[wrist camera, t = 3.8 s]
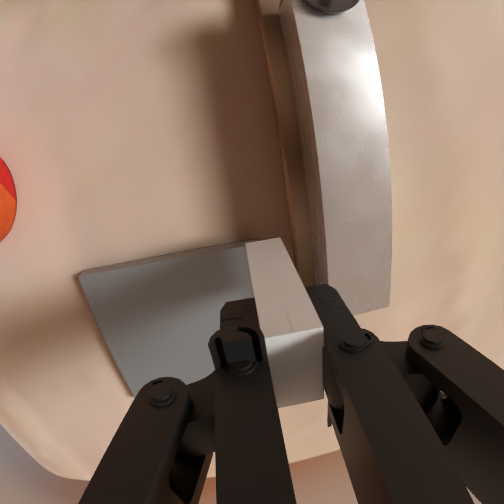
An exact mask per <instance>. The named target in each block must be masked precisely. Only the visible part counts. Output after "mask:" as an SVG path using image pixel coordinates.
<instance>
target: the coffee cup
mask: <svg viewBox="0 0 504 504" xmlns="http://www.w3.org/2000/svg"><path fill="white" fill-rule="evenodd" d="M16 208H17V197H16V189H15V184H14V181H13V177H12V175H11V172H10V170H9V168H8V167H7V165H6V164H5V162H4V161H3V160H2V159H1V158H0V241H2V240H3V239H4V238H5V237H6V235H7V234H8V233H9V232H10V230H11V228H12V226H13V223H14V220H15V216H16Z"/></svg>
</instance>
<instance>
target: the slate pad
mask: <svg viewBox="0 0 504 504" xmlns="http://www.w3.org/2000/svg"><path fill="white" fill-rule="evenodd" d="M255 241H258V240H257V239H251V240H246V241H240V242H234V243H229V244H223V245H217V246H212V247H206V248H201V249H195V250H190V251H184V252H179V253H173V254H168V255H162V256H157V257H151V258H146V259H141V260H135V261H130V262H125V263H119V264H114V265H109V266H103V267H98V268H93V269H88V270H83V271H82V272H81V273H80V275H79V276H78V278H79V281H80V283H81V286H82V289H83V291H84V294H85V296H86V299H87V301H88V304H89V306H90V308H91V311H92V313H93V315H94V318H95V320H96V322H97V324H98V327H99V329H100V331H101V333H102V335H103V338H104V340H105V342H106V344H107V346H108V348H109V350H110V352H111V354H112V356H113V358H114V360H115V362H116V364H117V366H118V368H119V370H120V372H121V374H122V376H123V378H124V380H125V381H126V383H127V385H128V387H129V389H130V390H131V392H132V394H133V396H134V398H135V397H136V395H137V394H138V392H139V391H140V389H141V388H142V387H143V386H144V385H145V384H147V383H148V382H150V381H151V380H154V379H157V378H160V377H174V378H178V379H180V380H181V381H183V382H184V383H185V384H186V385H188V384H190V383H193V382H196V381H199V380H201V379H203V378H205V377H207V376H208V375H210V374H211V373H212V372H213V371H214V370H215V367H214V364H213V360H212V357H211V354H210V350H209V347H208V342H209V339H210V337H211V336H212V335H213V334H214V333H215V332H216V331H218V330H220V310H221V309H222V307H223V306H224V304H225V303H226V302H229V301H235V300H241V299H247V298H253V297H254V293H253V287H252V281H251V275H250V269H249V263H248V257H247V251H246V245H245V243H249V242H255Z"/></svg>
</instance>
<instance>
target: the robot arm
mask: <svg viewBox="0 0 504 504" xmlns="http://www.w3.org/2000/svg"><path fill="white" fill-rule="evenodd" d="M245 245H246V251H247V257H248V263H249V269H250V275H251V281H252V287H253V293H254V297H253V298H247V299H241V300H235V301H229V302H226V303H225V304H224V306H223V307H222V309H221V310H220V330H218V331H216V332H215V333H214V334H213V335H212V336H211V337H210V339H209V342H208V347H209V350H210V354H211V357H212V360H213V364H214V367H215V370H214V371H213V372H212V373H211V374H210V375H208V376H207V377H205V378H203V379H201V380H199V381H196V382H193V383H190V384H188V385H186V384H185V383H184V382H183V381H181V380H180V379H178V378H174V377H160V378H157V379H154V380H151V381H150V382H148V383H147V384H145V385H144V386H143V387H142V388H141V389H140V391H139V392H138V394H137V395H136V397H135V399H134V401H133V403H132V404H131V406H130V408H129V410H128V412H127V413H126V415H125V417H124V419H123V421H122V422H121V424H120V426H119V428H118V430H117V432H116V433H115V435H114V437H113V439H112V441H111V443H110V445H109V446H108V448H107V450H106V452H105V454H104V456H103V458H102V459H101V461H100V463H99V465H98V467H97V469H96V471H95V473H94V475H93V477H92V478H91V480H90V482H89V484H88V486H87V488H86V490H85V492H84V494H83V496H82V498H81V500H80V502H79V504H198V503H199V500H200V496H201V493H202V490H203V486H204V483H205V479H206V476H207V473H208V470H209V466H210V463H211V459H212V456H213V452H215V456H216V497H217V498H216V499H217V504H296V499H295V494H294V489H293V484H292V479H291V474H290V469H289V464H288V459H287V454H286V449H285V444H284V439H283V434H282V428H281V423H280V418H279V413H278V408H280V407H286V406H291V405H296V404H301V403H306V402H311V401H315V400H320V399H324V389H325V392H326V395H327V398H328V418H327V423H328V427H330V426H331V424H332V425H333V428H334V431H335V434H336V437H337V440H338V443H339V446H340V449H341V452H342V455H343V458H344V461H345V464H346V467H347V470H348V473H349V476H350V480H351V482H352V486H353V489H354V492H355V495H356V498H357V501H358V504H474V502H473V500H472V498H471V496H470V494H469V492H468V490H467V488H468V489H469V490H470V491H471V492H472V494H474V495H475V497H476V498H477V499H478V500H479V501H480V502H481V503H482V504H504V370H503V369H502V368H500V367H499V366H498V365H496V364H495V363H493V362H492V361H491V360H489V359H488V358H487V357H485V356H484V355H483V354H481V353H480V352H478V351H477V350H476V349H474V348H473V347H471V346H470V345H469V344H467V343H466V342H464V341H463V340H462V339H460V338H459V337H457V336H456V335H455V334H453V333H452V332H450V331H449V330H447V329H445V328H443V327H441V326H436V325H423V326H420V327H417V328H415V329H414V330H413V331H412V332H411V333H410V335H409V338H408V341H401V342H383V341H379V339H378V337H377V336H375V335H374V334H373V333H372V332H370V331H368V330H366V329H361V328H360V326H359V325H358V323H357V321H356V320H355V318H354V317H353V315H352V313H351V312H350V310H349V309H348V307H347V306H346V304H345V302H344V301H343V299H341V296H340V295H339V293H338V291H337V290H336V289H335V288H333V287H331V286H330V285H328V284H326V283H325V284H320V285H315V286H309V287H304V285H303V283H302V281H301V279H300V277H299V275H298V273H297V271H296V269H295V267H294V265H293V262H292V260H291V258H290V256H289V254H288V252H287V250H286V248H285V246H284V244H283V242H282V240H281V238H280V237H279V238H273V239H267V240H261V241H255V242H249V243H245ZM441 391H442V392H443V393H444V394H443V393H442V392H441ZM466 487H467V488H466Z"/></svg>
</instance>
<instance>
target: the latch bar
mask: <svg viewBox="0 0 504 504" xmlns="http://www.w3.org/2000/svg"><path fill="white" fill-rule="evenodd" d="M278 12H279V17H280V22H281V27H282V32H283V37H284V42H285V48H286V53H287V58H288V64H289V70H290V76H291V81H292V87H293V94H294V100H295V106H296V113H297V119H298V126H299V133H300V140H301V148H302V155H303V163H304V171H305V179H306V188H307V197H308V206H309V215H310V225H311V236H312V247H313V258H314V271H315V284H316V285H320V284H325V283H326V284H328V285H330V286H331V287H333V288H335V289H336V290H337V291H338V293H339V295H340V296H341V299H343V301H344V302H345V304H346V306H347V307H348V309H349V310H350V312H351V313H352V315H357V314H361V313H365V312H369V311H373V310H377V309H381V308H385V307H389V299H390V282H391V258H392V201H391V176H390V160H389V147H388V136H387V126H386V117H385V109H384V101H383V94H382V87H381V80H380V74H379V68H378V62H377V57H376V52H375V47H374V42H373V37H372V32H371V28H370V23H369V19H368V15H367V11H366V7H365V3H364V0H283V2H282V4H281V6H280V8H279V10H278Z"/></svg>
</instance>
